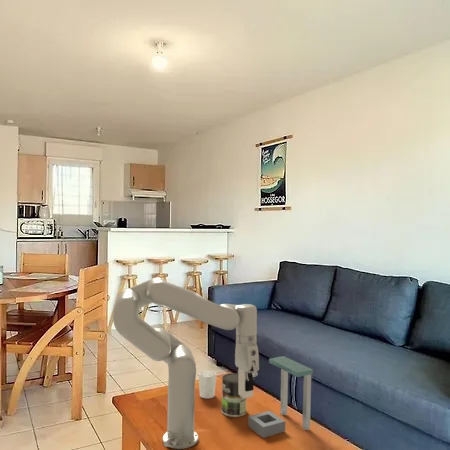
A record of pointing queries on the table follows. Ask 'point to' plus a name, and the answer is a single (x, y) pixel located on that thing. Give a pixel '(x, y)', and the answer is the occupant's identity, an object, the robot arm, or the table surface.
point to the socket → (266, 424)
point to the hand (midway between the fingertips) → (245, 387)
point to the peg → (243, 385)
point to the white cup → (207, 384)
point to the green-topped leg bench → (294, 369)
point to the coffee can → (232, 396)
